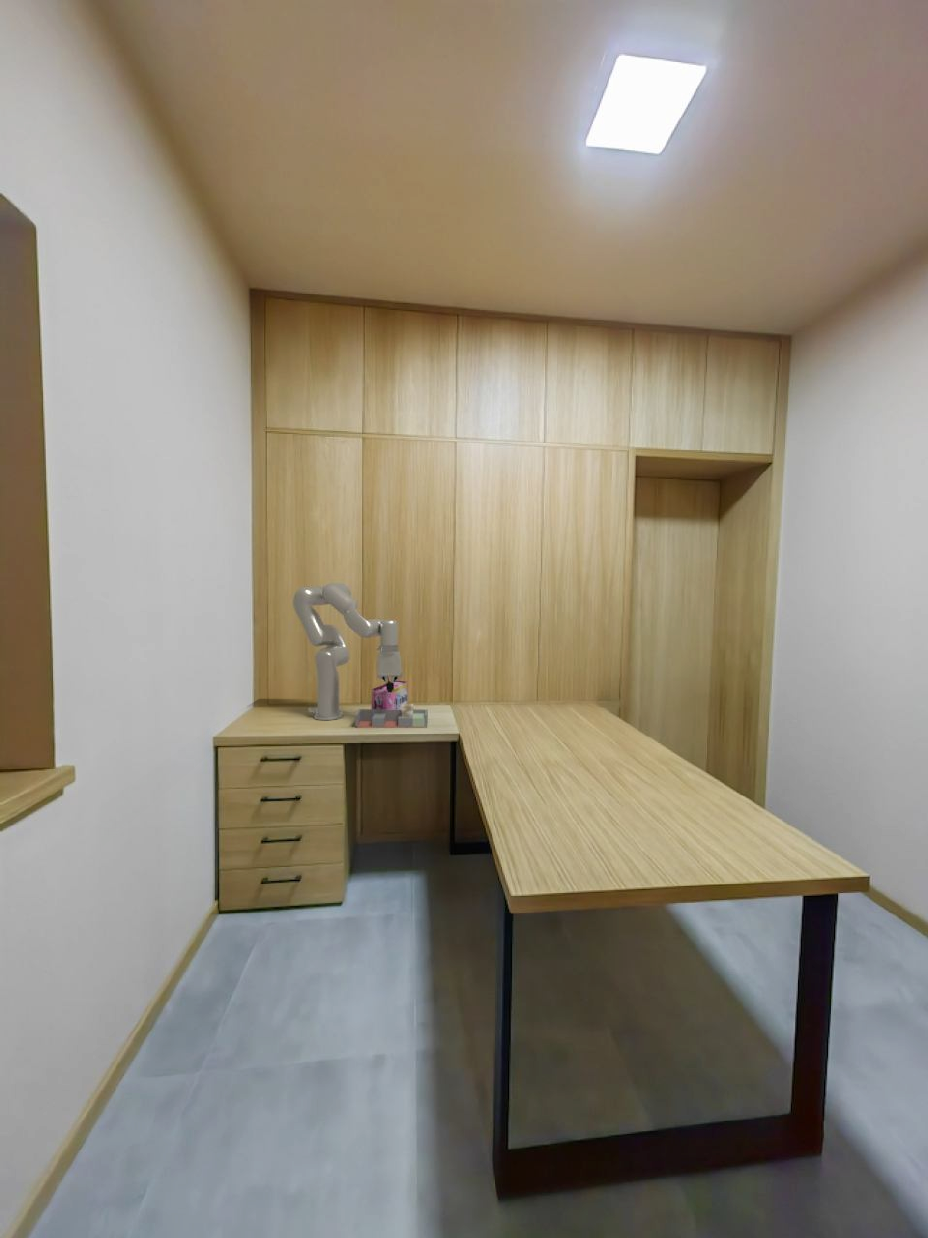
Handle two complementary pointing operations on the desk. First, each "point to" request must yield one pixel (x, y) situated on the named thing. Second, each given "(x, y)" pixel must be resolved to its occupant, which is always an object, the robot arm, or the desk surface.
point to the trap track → (390, 718)
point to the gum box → (390, 696)
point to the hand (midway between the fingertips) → (390, 691)
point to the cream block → (407, 710)
